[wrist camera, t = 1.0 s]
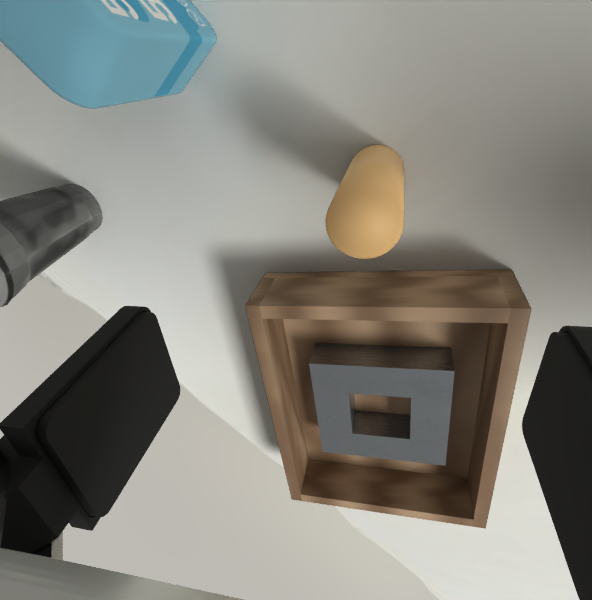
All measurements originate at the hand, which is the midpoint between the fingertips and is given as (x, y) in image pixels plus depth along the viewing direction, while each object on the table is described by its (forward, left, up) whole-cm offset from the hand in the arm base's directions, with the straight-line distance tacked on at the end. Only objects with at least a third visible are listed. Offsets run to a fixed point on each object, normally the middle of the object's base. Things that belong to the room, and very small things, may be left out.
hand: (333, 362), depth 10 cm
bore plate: (0, +22, -22) cm, 31 cm away
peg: (0, +1, -22) cm, 22 cm away
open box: (0, +22, -22) cm, 31 cm away
